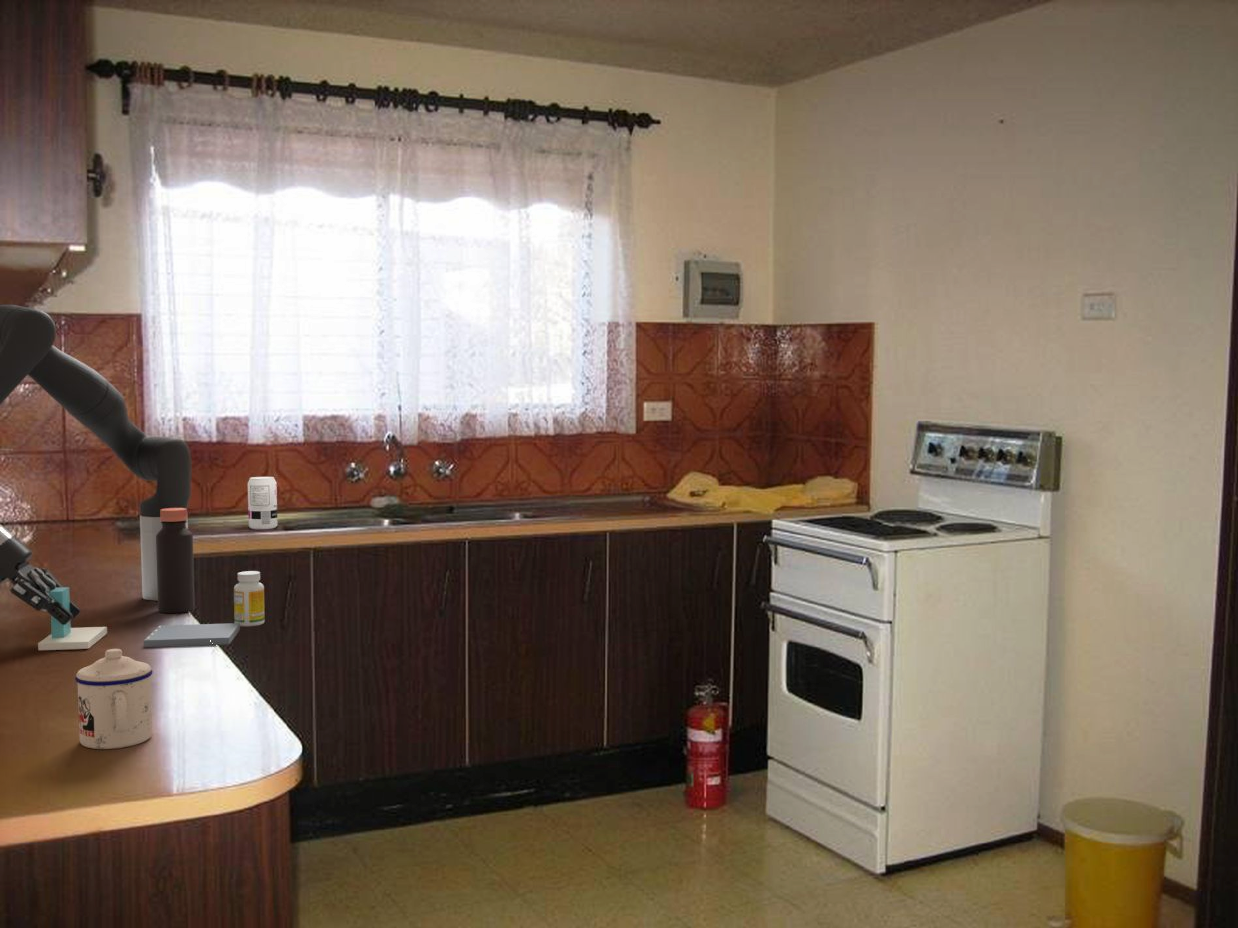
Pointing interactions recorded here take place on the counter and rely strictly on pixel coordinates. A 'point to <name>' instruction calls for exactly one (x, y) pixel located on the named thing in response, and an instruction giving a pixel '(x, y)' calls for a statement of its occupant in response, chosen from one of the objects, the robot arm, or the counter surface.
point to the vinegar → (175, 563)
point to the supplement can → (262, 503)
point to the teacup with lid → (114, 702)
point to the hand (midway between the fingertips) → (72, 617)
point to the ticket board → (192, 635)
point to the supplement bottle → (249, 599)
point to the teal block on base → (69, 629)
